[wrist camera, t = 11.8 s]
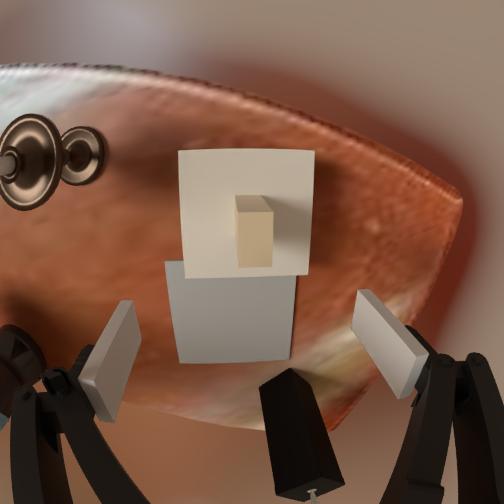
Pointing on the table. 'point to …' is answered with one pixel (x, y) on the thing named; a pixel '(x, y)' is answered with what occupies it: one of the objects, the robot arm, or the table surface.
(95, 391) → the robot arm
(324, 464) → the black block
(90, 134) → the candlestick
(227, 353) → the mat
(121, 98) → the table surface
